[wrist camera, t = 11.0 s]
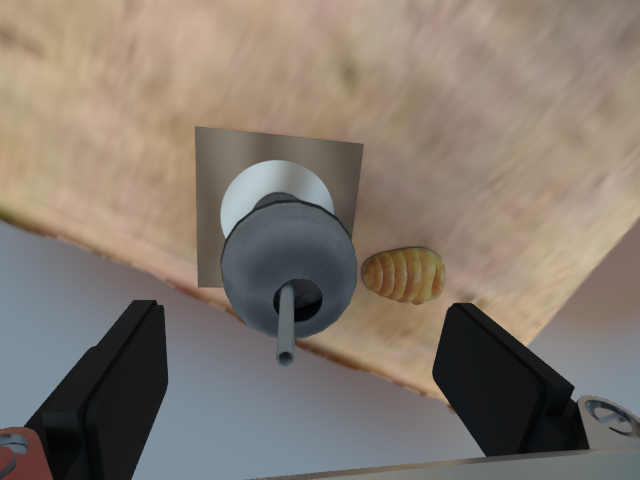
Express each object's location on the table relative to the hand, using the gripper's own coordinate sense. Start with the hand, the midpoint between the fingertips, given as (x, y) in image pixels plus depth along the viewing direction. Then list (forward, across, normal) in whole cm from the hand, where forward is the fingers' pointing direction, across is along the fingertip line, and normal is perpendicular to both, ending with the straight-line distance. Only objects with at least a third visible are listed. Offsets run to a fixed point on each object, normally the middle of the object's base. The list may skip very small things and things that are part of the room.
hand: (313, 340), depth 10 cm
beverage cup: (+19, 0, 0) cm, 19 cm away
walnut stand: (+24, 0, +1) cm, 24 cm away
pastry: (+24, -15, +8) cm, 30 cm away
